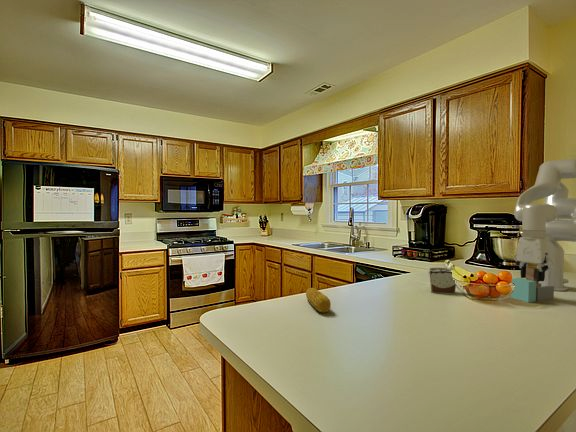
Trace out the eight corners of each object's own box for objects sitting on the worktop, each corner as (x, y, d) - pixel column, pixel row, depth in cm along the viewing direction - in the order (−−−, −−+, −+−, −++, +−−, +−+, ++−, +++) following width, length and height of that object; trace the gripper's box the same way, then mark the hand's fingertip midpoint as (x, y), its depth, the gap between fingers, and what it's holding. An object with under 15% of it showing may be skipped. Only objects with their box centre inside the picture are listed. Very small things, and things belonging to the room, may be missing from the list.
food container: (452, 290, 142) (453, 267, 141) (458, 294, 136) (459, 270, 135) (423, 289, 143) (424, 267, 143) (428, 292, 137) (428, 269, 136)
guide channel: (538, 295, 135) (538, 283, 135) (553, 299, 129) (554, 286, 129) (523, 296, 132) (523, 284, 132) (537, 300, 127) (538, 287, 126)
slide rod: (530, 289, 131) (531, 267, 131) (538, 290, 128) (539, 268, 128) (518, 290, 129) (518, 268, 129) (525, 292, 126) (526, 269, 126)
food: (332, 314, 108) (333, 297, 108) (316, 315, 107) (317, 298, 106) (314, 297, 128) (315, 282, 128) (301, 298, 127) (301, 283, 127)
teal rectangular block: (518, 296, 132) (518, 277, 132) (535, 301, 125) (536, 281, 125) (510, 297, 131) (511, 278, 131) (528, 302, 124) (528, 282, 124)
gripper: (506, 233, 136) (505, 275, 136) (550, 236, 120) (548, 284, 120) (519, 233, 138) (517, 274, 139) (564, 236, 122) (562, 283, 122)
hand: (532, 278), depth 129 cm, fingers open, 5 cm apart
